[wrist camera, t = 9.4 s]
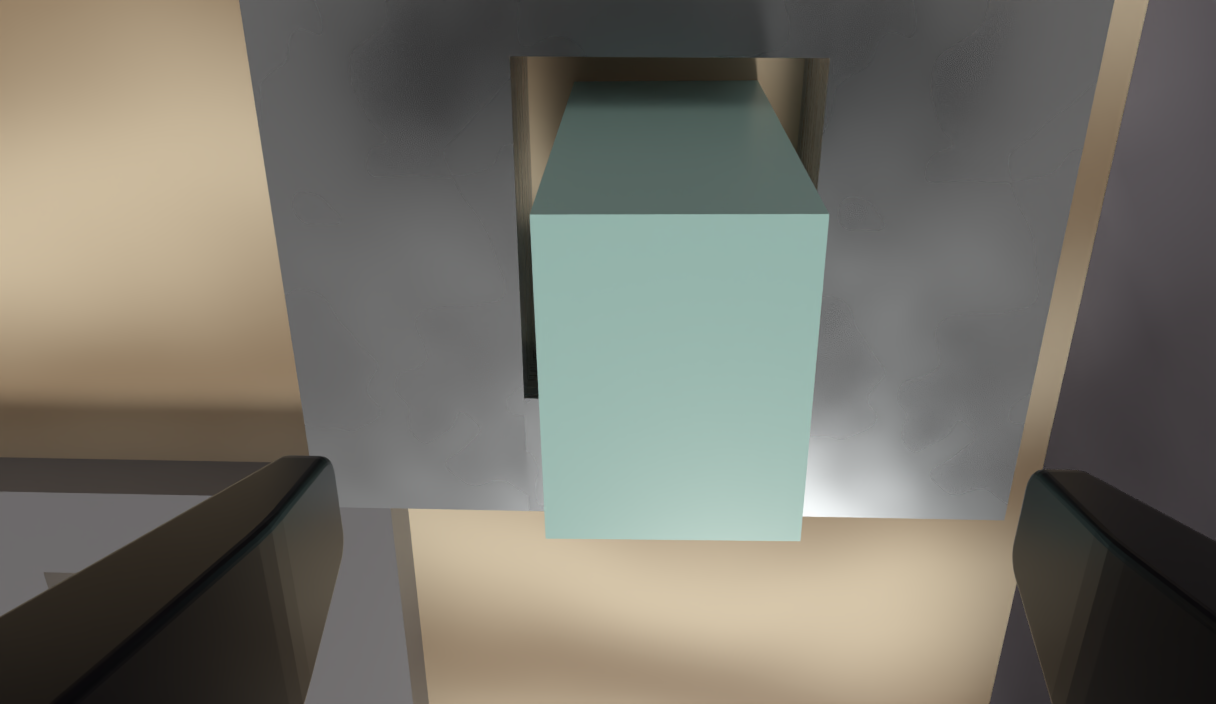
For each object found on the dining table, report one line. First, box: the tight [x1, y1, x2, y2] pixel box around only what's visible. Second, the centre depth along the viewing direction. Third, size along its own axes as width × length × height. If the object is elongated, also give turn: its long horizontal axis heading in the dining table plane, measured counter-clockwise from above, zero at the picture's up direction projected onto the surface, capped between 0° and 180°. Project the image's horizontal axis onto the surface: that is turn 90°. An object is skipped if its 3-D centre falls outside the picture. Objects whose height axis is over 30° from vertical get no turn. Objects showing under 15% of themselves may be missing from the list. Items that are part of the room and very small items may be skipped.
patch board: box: [0, 0, 1149, 704], centre depth 20 cm, size 22×24×1 cm
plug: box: [530, 80, 829, 541], centre depth 14 cm, size 4×3×7 cm
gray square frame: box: [0, 457, 429, 704], centre depth 21 cm, size 9×10×1 cm
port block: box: [239, 0, 1115, 520], centre depth 16 cm, size 10×12×2 cm
